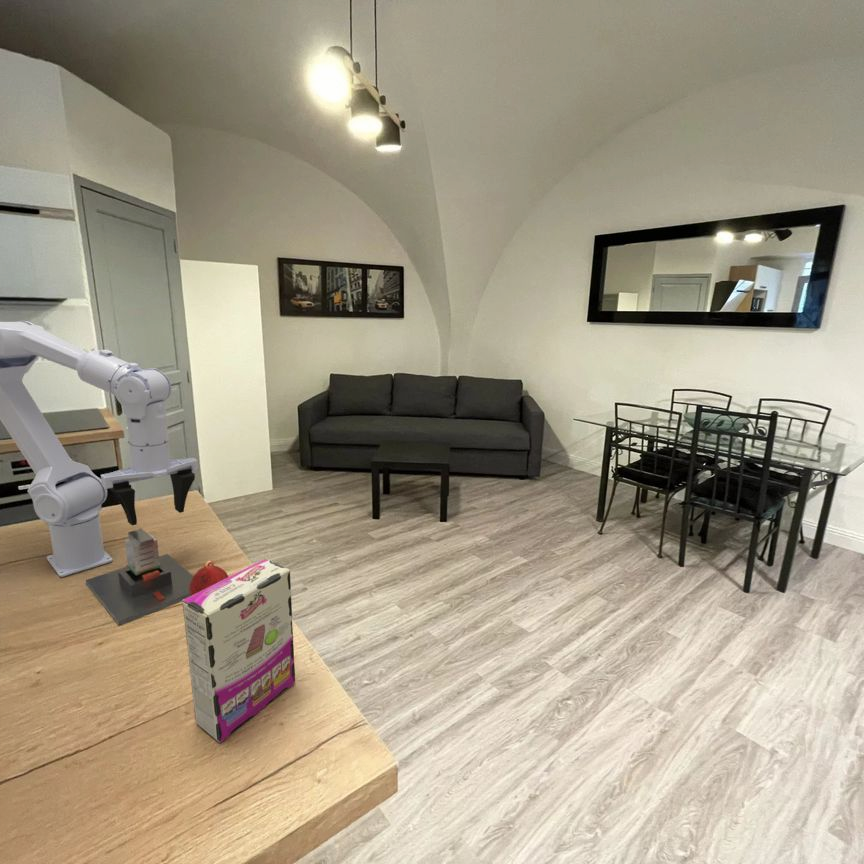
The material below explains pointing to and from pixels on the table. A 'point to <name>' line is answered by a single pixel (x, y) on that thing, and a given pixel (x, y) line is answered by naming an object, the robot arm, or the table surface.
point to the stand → (141, 590)
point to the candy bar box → (239, 646)
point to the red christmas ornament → (206, 577)
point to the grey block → (142, 552)
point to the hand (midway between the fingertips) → (156, 516)
